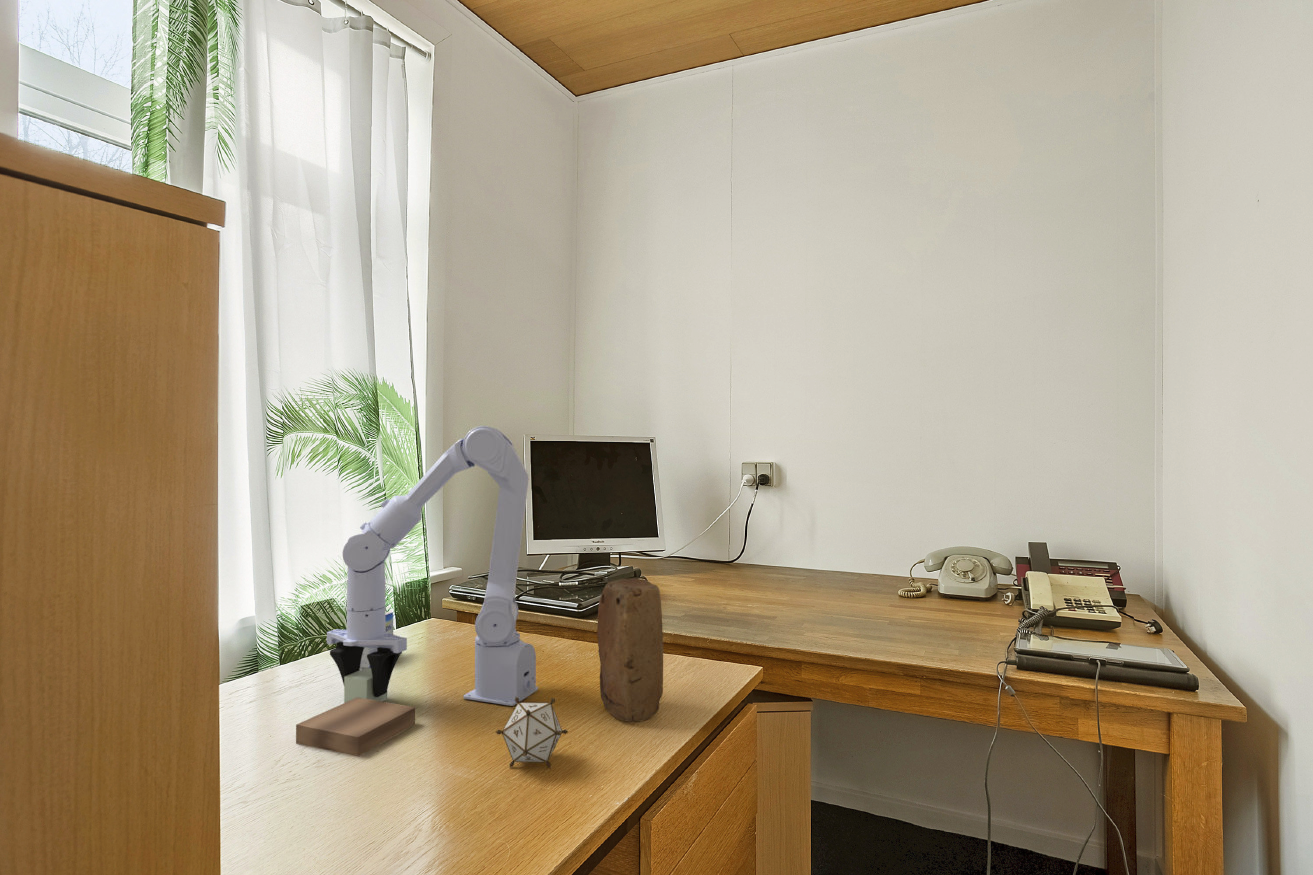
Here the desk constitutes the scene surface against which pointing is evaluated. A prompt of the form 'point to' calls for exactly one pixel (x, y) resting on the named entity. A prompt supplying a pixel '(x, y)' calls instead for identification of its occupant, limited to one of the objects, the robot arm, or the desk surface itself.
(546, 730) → the game die
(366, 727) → the walnut block
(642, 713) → the block
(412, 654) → the desk surface
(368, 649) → the medicine box
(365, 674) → the sage block
